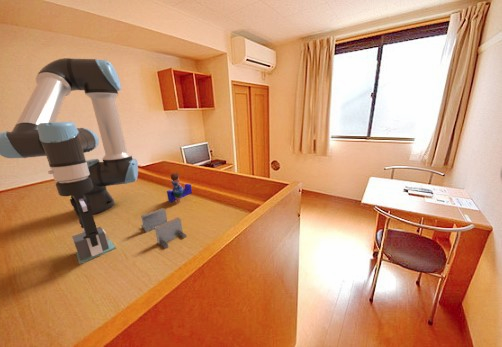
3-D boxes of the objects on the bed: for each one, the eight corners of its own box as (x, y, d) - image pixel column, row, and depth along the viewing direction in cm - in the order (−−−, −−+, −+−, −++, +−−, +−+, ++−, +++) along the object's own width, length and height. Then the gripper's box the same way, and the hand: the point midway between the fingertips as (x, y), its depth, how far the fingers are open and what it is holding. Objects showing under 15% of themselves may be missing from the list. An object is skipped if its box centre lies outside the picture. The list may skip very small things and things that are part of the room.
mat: (75, 253, 61) (75, 252, 61) (109, 240, 67) (109, 238, 67) (79, 264, 56) (79, 262, 56) (115, 248, 63) (115, 247, 63)
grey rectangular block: (77, 253, 60) (72, 236, 59) (106, 241, 66) (101, 225, 64) (80, 260, 57) (74, 243, 55) (110, 247, 62) (105, 231, 61)
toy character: (191, 204, 92) (187, 174, 88) (182, 208, 89) (177, 176, 84) (178, 198, 100) (173, 169, 96) (169, 201, 97) (164, 171, 93)
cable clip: (186, 193, 106) (185, 183, 104) (192, 195, 104) (190, 184, 102) (166, 202, 97) (164, 190, 95) (172, 204, 94) (170, 192, 92)
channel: (141, 227, 74) (138, 213, 72) (162, 219, 80) (159, 205, 78) (164, 249, 61) (160, 232, 60) (187, 237, 67) (184, 221, 65)
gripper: (52, 176, 58) (75, 244, 65) (58, 189, 46) (85, 270, 53) (84, 171, 64) (102, 233, 70) (97, 181, 51) (117, 256, 58)
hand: (95, 249), depth 61 cm, fingers open, 5 cm apart
